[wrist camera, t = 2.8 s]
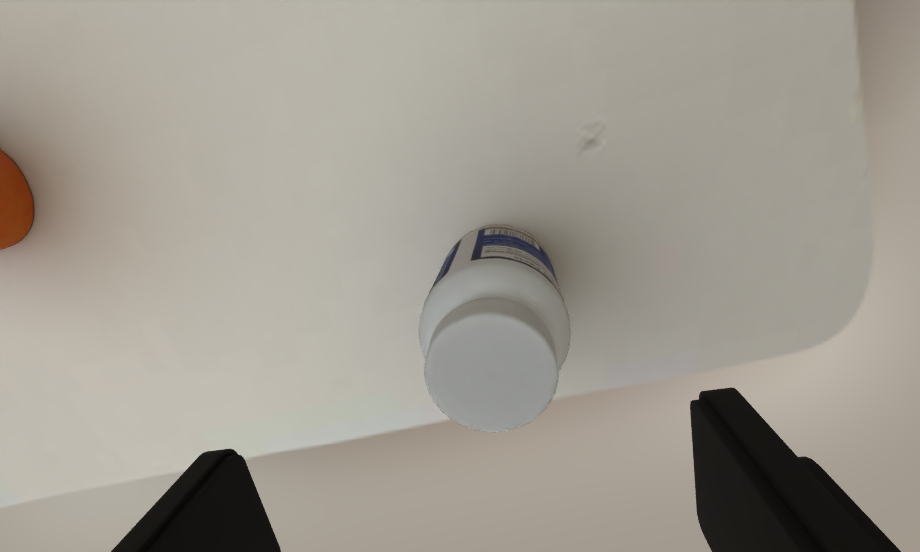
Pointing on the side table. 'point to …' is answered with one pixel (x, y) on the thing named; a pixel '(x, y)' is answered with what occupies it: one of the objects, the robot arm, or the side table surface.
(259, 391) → the side table surface
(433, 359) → the pill bottle
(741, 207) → the side table surface
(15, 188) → the coffee cup
